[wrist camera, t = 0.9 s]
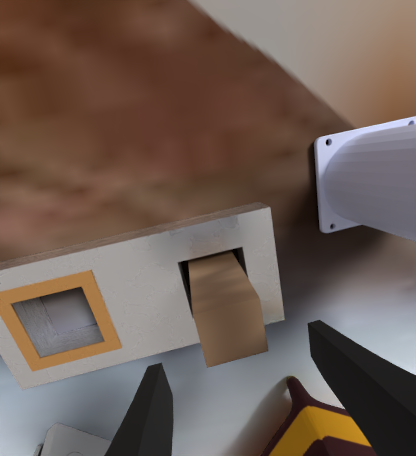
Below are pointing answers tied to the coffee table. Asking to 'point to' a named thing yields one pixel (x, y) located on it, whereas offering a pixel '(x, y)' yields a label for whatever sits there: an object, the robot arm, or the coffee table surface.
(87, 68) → the coffee table surface
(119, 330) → the peg-in-hole board
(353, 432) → the decorative lantern
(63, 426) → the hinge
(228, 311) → the walnut peg
